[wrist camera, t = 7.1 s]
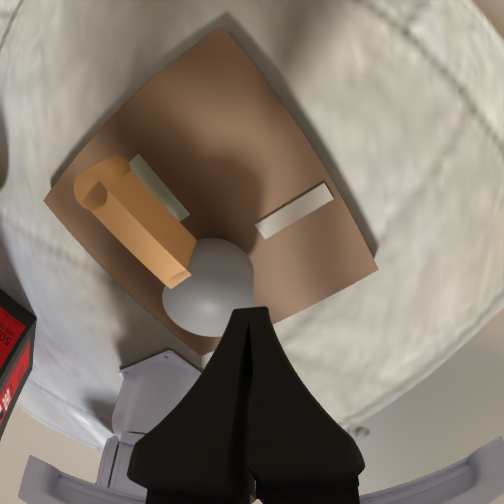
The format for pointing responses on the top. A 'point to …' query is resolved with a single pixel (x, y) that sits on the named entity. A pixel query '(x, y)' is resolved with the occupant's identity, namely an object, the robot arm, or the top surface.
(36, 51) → the top surface
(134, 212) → the orange and grey bar
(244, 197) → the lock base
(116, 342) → the top surface
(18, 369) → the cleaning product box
